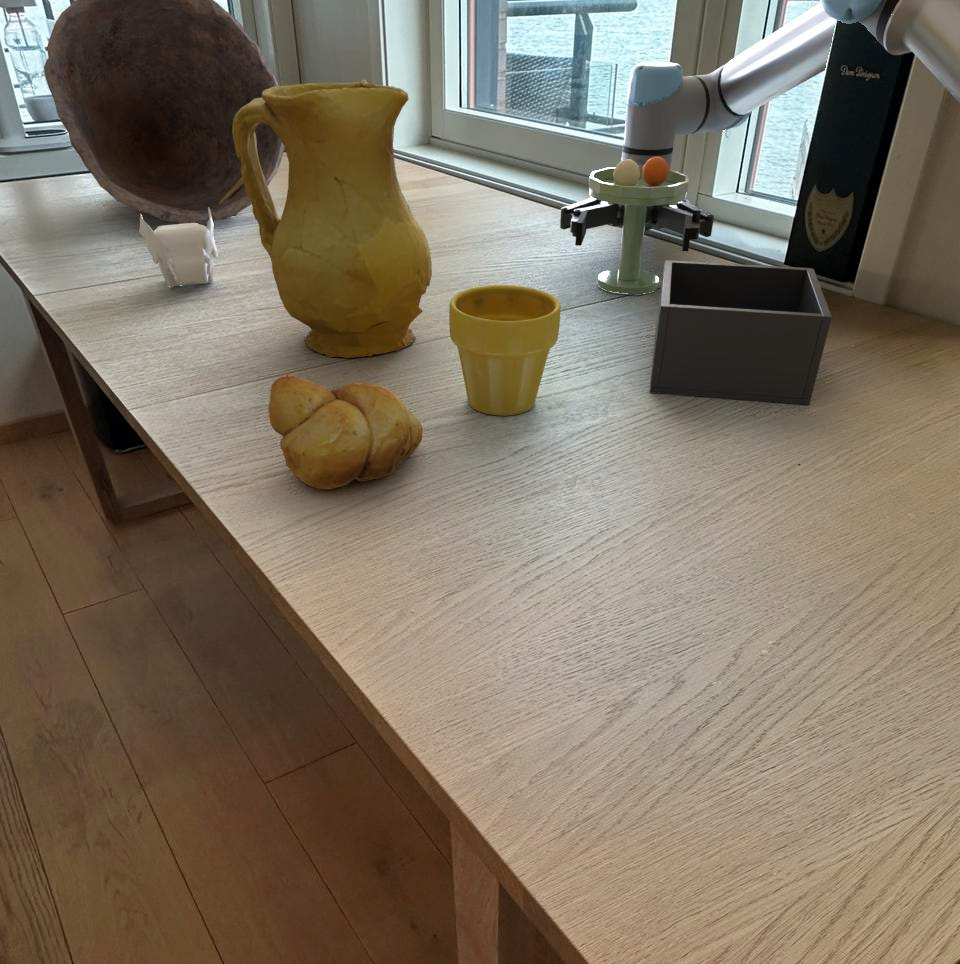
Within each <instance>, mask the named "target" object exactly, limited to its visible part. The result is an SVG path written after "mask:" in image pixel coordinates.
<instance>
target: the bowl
mask: <svg viewBox="0 0 960 964" xmlns="http://www.w3.org/2000/svg"><path fill="white" fill-rule="evenodd" d="M50 33H51V34H50V36H49V39H48V43H47V45H46V51H47V59H46V61H45V63H44V65H43V70H44V76H45V81H46V83H47V86H48V89H49V92H50V94H51V96H52V98H53V102H54V105H55V110H56V114H57V116H58V118H59V120H60V123H61V124H62V125H63V126H64V128H65V130H66V131H67V133H68V137H69V141H70V145H71V146H72V148H73V149H74V151H75V152H76V153H77V154H78V156H79V157H80V159H81V161H82V162H83V164H84V166H85V168H86V169H87V170H88V171H89V173H90V174H91V176H92V177H93V178H94V179H95V181H96V182H97V184H98V185H99V187H100V188H102V189H103V190H104V191H105V192H106V193H108V194H109V195H110V196H111V197H112V198H113V199H114V200H116V201H117V202H118V203H121V204H124V205H127V206H130V207H131V208H133V209H134V210H136V211H138V212H141V213H144V214H147V215H149V216H152V217H154V218H157V219H159V220H161V221H163V222H170V223H177V224H185V223H198V224H199V223H204V224H206V223H208V221H209V218H210V217H209V212H208V207H209V208H210V211H211V217H212V220H213V221H215V220H227V219H229V218H232V217H231V216H235V217H237V215H238V214H239V213H241V212H242V211H244V210H245V209H247V208H248V207H251V206H252V203H251V198H250V197H248V195H247V194H246V190H245V185H244V181H243V178H242V174H241V169H240V168H241V166H242V164H241V161H240V159H239V158H237V154H236V149H235V145H234V140H233V135H232V128H233V119H234V117H235V115H236V113H237V112H238V111H239V110H240V109H241V108H242V107H244V106H245V105H247V104H249V103H250V102H251V101H252V100H253V99H256V98H262V92H263V91H264V90H265V89H269V88H272V87H275V86H280V84H279V83H278V81H277V80H276V78H275V75H274V72H273V70H272V68H271V66H270V64H269V63H268V62H267V60H266V59H265V57H264V54H263V52H262V50H261V49H260V47H259V46H258V45H257V43H256V42H255V40H254V39H253V38H251V37H250V35H249V34H248V32H247V30H246V29H245V28H244V27H243V25H242V24H241V23H240V22H239V20H237V18H236V17H235V16H234V15H233V14H232V13H230V12H229V11H227V10H226V9H225V8H223V6H221V4H219V3H218V2H216V1H215V0H73V1H72V3H71V4H70V5H69V6H68V7H66V9H64V10H63V11H62V12H61V13H60V15H59V16H58V17H57V19H56V20H55V23H54V26H53V28H52V30H51V32H50ZM255 134H256V141H257V152H258V158H259V162H260V165H261V168H262V172H263V175H264V177H265V179H266V183H267V186H268V187H269V185H270V183H271V182H272V180H273V179H274V178H275V177H276V175H277V174H278V171H279V168H280V165H281V162H282V158H283V155H284V151H285V146H284V144H283V143H282V142H281V140H280V139H279V137H278V136H277V134H276V133H275V132H274V130H273V129H272V127H271V126H269V125H265V124H260V123H259V125H258V127H257V128H256V130H255Z"/></svg>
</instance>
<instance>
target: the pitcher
mask: <svg viewBox="0 0 960 964" xmlns="http://www.w3.org/2000/svg"><path fill="white" fill-rule="evenodd" d="M408 101H409V93H408V92H407V91H405V90H404V89H403V88H401V87H396V86H393V85H381V84H377V83H370V82H367V80H366V79H361V80H360V81H353V82H348V81H347V82H308V83H296V84H291V85H289V84H288V85H287V84H286V85H279V86H275V87H272V88H269V89H265V90H264V91H263V92H262V98H256V99H253V100H252V101H251V102H250V103H249V104H247V105H245V106H244V107H242V108H241V109H240V110H239V111H238V112H237V113H236V115H235V117H234V119H233V128H232V135H233V140H234V145H235V149H236V154H237V158H239V159H240V161H241V164H242V166H241V168H240V169H241V174H242V178H243V181H244V185H245V190H246V194H247V195H248V197H250V198H251V203H252V204H251V206H252V207H251V208H252V213H253V216H254V219H255V220H256V221H257V224H258V228H259V229H258V233H259V236H260V243H261V245H262V247H263V248H264V250H265V251H266V253H267V254H268V257H269V258H270V261H271V271H272V274H273V278H274V281H275V284H276V288H277V291H278V294H279V298H280V300H281V302H282V305H283V308H284V309H285V310H286V311H287V313H288V314H289V316H290V318H291V317H292V318H293V319H295V320H297V321H298V322H300V323H302V324H303V325H305V326H307V327H309V328H310V330H309V332H308V334H306V336H305V337H304V338H303V339H304V341H305V345H306V346H307V347H308V348H309V349H310V350H312V351H314V353H317V354H319V355H325V356H326V357H327V358H338V357H339V358H344V359H349V358H350V359H353V358H354V359H355V358H360V357H363V358H364V357H366V356H368V357H372V356H373V355H383V354H387V353H389V352H390V353H392V352H394V351H400V350H401V349H404V348H407V347H409V346H410V345H411V344H413V343H414V342H415V340H416V336H415V335H414V333H413V329H411V328H410V324H412V323H413V321H414V320H415V319H416V318H418V317H419V316H420V315H421V314H422V313H423V312H424V311H423V310H422V309H421V307H419V306H420V303H421V300H422V296H423V295H424V294H426V292H427V289H428V287H429V286H430V283H431V281H432V275H433V264H432V257H431V256H432V255H431V248H430V246H429V242H428V239H427V236H426V234H425V232H424V230H423V229H422V226H421V225H420V224H419V222H418V221H417V219H416V217H415V216H414V214H413V212H412V211H411V210H412V209H411V207H410V205H409V204H408V202H407V199H406V197H405V195H404V193H403V192H402V189H401V185H400V182H399V180H398V179H399V178H398V175H397V171H396V163H395V162H396V161H395V152H394V136H395V135H394V134H395V125H396V123H397V119H398V118H399V116H400V113H402V112H401V111H402V109H403V107H404V106H406V104H407V102H408ZM259 123H260V124H265V125H269V126H271V127H272V129H273V130H274V132H275V133H276V134H277V136H278V137H279V139H280V140H281V142H282V143H283V144H284V146H285V148H284V151H285V154H286V158H287V160H288V179H287V180H288V181H287V192H286V200H285V203H284V208H283V210H282V214H281V218H279V215H278V211H277V209H276V207H275V203H274V201H273V197H272V194H271V192H270V189H269V185H268V186H267V183H266V179H265V177H264V175H263V172H262V168H261V165H260V162H259V158H258V152H257V141H256V134H255V130H256V128H257V127H258V125H259Z"/></svg>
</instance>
